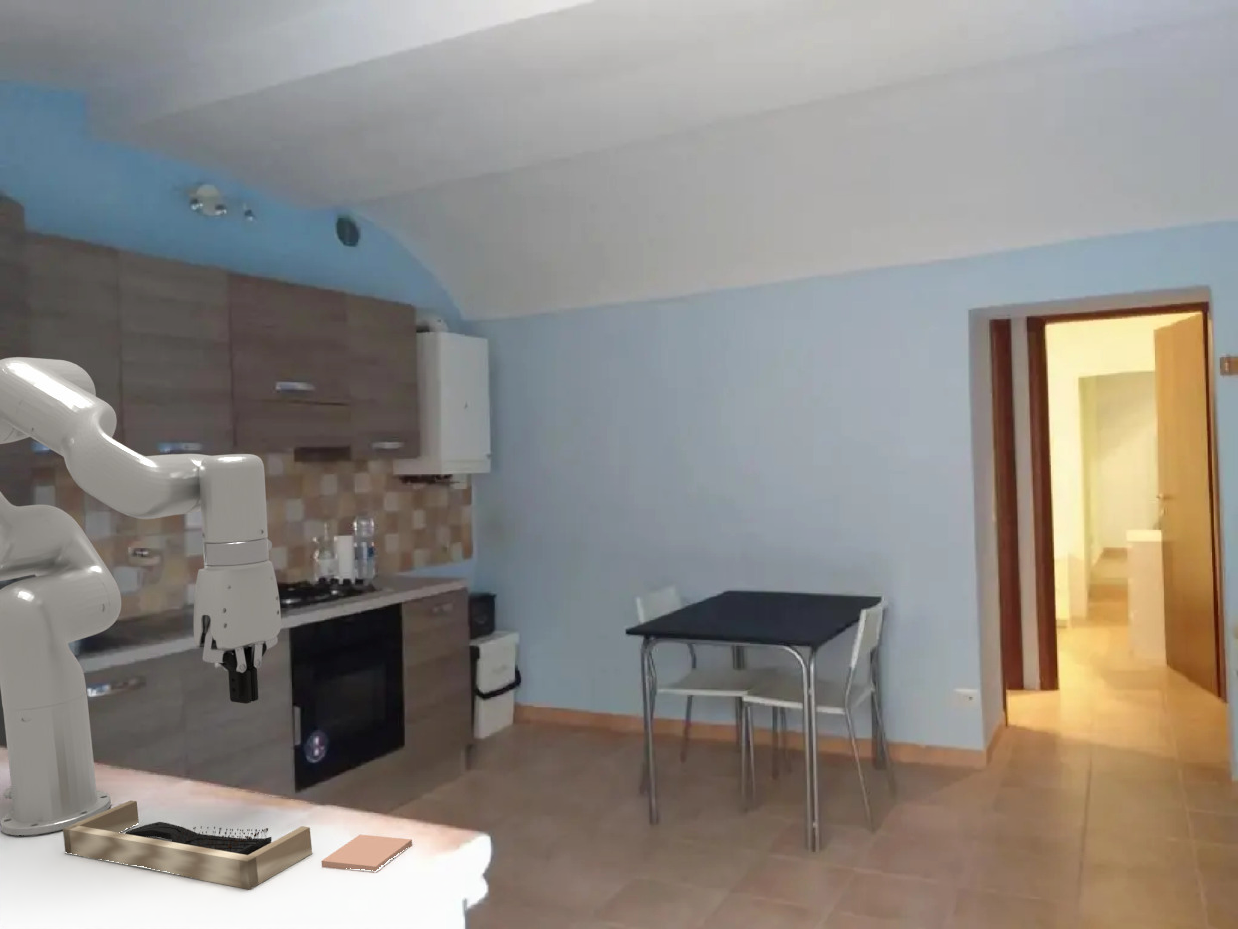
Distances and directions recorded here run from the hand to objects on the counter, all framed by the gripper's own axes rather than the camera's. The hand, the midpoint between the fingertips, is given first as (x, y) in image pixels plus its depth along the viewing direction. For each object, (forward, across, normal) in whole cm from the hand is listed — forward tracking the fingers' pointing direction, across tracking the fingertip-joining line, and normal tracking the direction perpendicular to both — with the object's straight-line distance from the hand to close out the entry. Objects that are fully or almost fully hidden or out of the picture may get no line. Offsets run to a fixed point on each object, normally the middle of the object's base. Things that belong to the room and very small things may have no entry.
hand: (244, 700), depth 123 cm
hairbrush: (+16, +9, 0) cm, 18 cm away
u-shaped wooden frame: (+15, +10, +1) cm, 18 cm away
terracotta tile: (+15, +4, +23) cm, 27 cm away
